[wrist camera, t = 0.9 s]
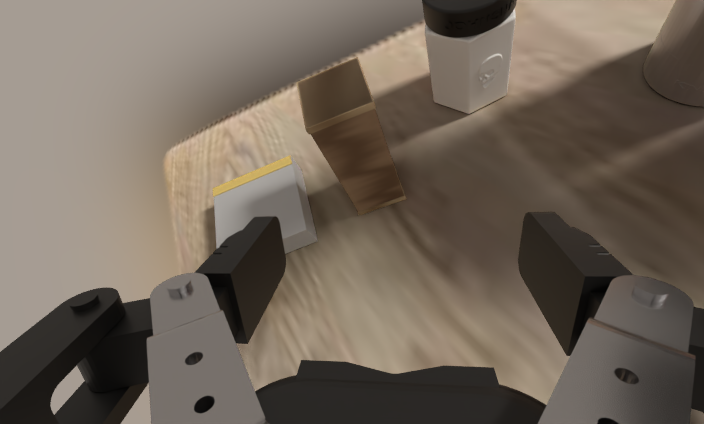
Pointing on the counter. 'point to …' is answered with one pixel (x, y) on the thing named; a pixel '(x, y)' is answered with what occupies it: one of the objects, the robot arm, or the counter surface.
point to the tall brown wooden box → (350, 135)
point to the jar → (469, 50)
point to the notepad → (266, 203)
